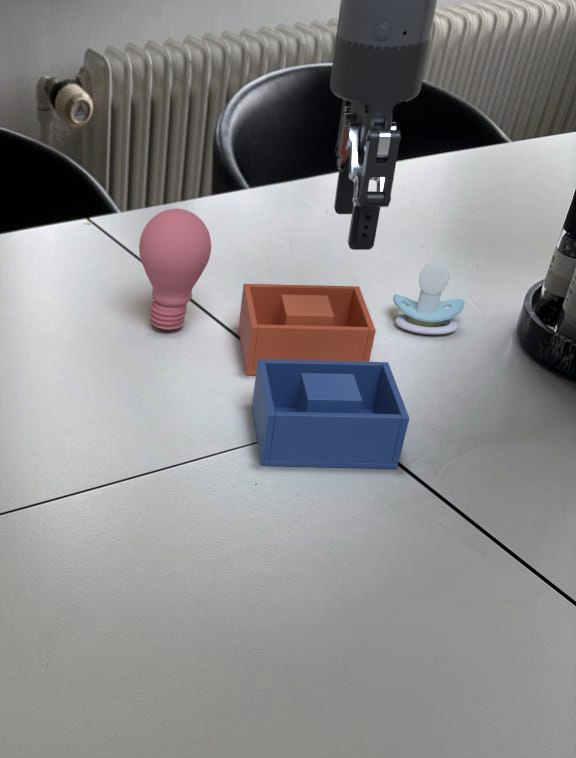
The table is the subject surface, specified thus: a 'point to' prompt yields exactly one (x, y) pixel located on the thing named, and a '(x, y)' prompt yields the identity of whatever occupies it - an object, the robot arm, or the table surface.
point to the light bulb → (173, 262)
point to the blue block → (328, 393)
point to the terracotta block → (305, 310)
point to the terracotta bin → (303, 342)
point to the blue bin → (328, 418)
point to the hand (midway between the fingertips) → (352, 229)
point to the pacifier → (429, 304)
